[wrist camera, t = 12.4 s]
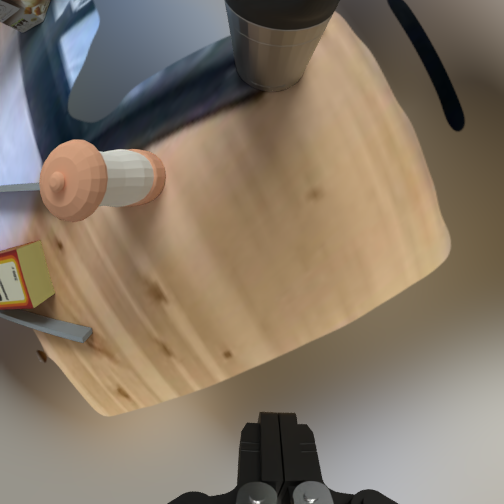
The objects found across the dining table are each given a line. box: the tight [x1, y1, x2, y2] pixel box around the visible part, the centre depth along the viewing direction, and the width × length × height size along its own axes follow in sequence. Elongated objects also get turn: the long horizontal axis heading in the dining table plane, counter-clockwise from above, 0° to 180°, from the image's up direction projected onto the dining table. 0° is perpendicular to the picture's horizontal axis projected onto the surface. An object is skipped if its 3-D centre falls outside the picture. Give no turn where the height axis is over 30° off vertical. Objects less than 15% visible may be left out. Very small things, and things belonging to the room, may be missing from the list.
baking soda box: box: [0, 240, 55, 310], centre depth 37 cm, size 10×6×16 cm
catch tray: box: [0, 183, 93, 343], centre depth 37 cm, size 25×27×4 cm
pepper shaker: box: [39, 140, 166, 222], centre depth 27 cm, size 7×7×19 cm
